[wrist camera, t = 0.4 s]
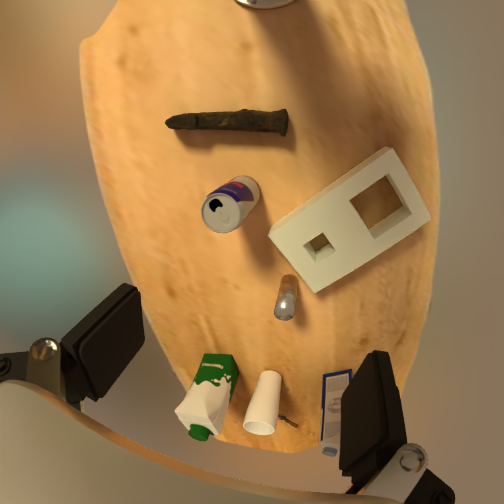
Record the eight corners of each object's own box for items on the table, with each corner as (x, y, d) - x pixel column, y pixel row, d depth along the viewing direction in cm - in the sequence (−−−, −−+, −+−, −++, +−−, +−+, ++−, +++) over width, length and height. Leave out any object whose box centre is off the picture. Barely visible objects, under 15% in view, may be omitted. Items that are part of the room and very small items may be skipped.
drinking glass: (282, 386, 60) (272, 437, 47) (255, 380, 61) (240, 431, 48) (288, 370, 57) (278, 425, 44) (259, 364, 58) (244, 417, 45)
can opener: (298, 424, 68) (297, 427, 67) (291, 426, 69) (291, 429, 68) (281, 411, 66) (280, 414, 65) (274, 413, 67) (274, 416, 66)
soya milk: (211, 374, 64) (183, 437, 46) (199, 350, 60) (165, 416, 43) (243, 376, 61) (220, 445, 44) (234, 351, 58) (206, 424, 40)
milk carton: (355, 385, 56) (357, 457, 38) (329, 390, 58) (324, 461, 40) (351, 368, 54) (353, 445, 36) (322, 374, 56) (317, 450, 38)
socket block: (272, 225, 44) (267, 235, 40) (384, 146, 34) (392, 147, 30) (314, 279, 46) (314, 293, 42) (421, 210, 37) (431, 218, 33)
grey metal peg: (277, 279, 48) (269, 310, 40) (291, 271, 46) (286, 301, 38) (287, 291, 48) (281, 323, 40) (301, 283, 47) (297, 315, 39)
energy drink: (247, 168, 41) (224, 182, 30) (267, 196, 42) (251, 220, 31) (221, 187, 43) (191, 207, 32) (240, 213, 44) (217, 242, 33)
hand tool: (290, 111, 36) (287, 108, 31) (287, 136, 37) (284, 136, 33) (174, 107, 39) (159, 105, 34) (172, 129, 40) (158, 130, 36)
